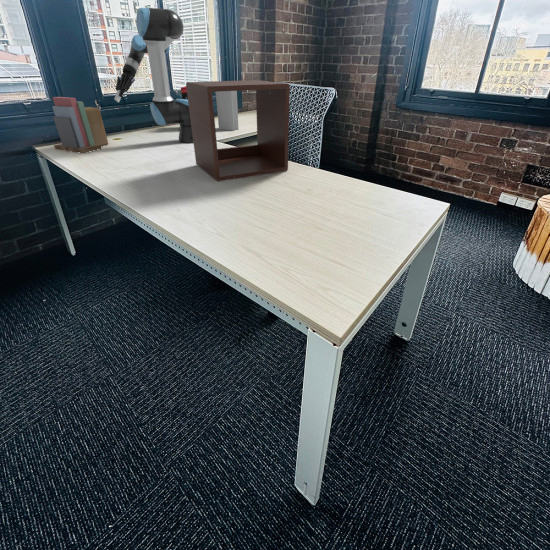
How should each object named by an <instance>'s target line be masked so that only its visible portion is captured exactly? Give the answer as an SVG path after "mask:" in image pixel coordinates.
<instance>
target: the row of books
mask: <svg viewBox="0 0 550 550" xmlns="http://www.w3.org/2000/svg"><path fill="white" fill-rule="evenodd" d="M52 101H53V103H54V105H53V106H52V111H53V114H54V116H53V117H52V118H53V120H54V123H55V127H56V130H57V133H58V136H59V139H60V141H61V144H62V145H63V146H66V147H73V148H78V147H79V148H82V147H85V146H91V145H95V143H94V139H93V136H92V132H91V129H90V125H89V122H88V118H87V115H86V111H85V104H84V101H77V99H76V97H69V96H68V97H67V96H66V97H65V96H52Z"/></svg>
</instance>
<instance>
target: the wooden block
mask: <svg viewBox="0 0 550 550" xmlns="http://www.w3.org/2000/svg"><path fill="white" fill-rule="evenodd" d="M84 108H85V111H86V115H87V118H88V122H89V125H90V129H91V132H92V136H93V139H94V143H95V145H101V147H104V146H103V145H105V146H108V145H109V140H108V136H107V133H106V129H105V128H106V127H105V125H104V121H103V118H102V114H101V110H100V108H98V107H94V106H84Z"/></svg>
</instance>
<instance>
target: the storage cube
mask: <svg viewBox="0 0 550 550" xmlns="http://www.w3.org/2000/svg"><path fill="white" fill-rule="evenodd" d="M185 86H186V89H187V96H188V104H189V112H190V120H191V127H192V135H193V143H192V144H193V149H194V150H193V151H194V156H195V164H196V166H198V167H199V168H200V169H202V170H203V172H206V174H208V175H209V176H210V177H211V178H212V179H214V180H215V181H216V182H222V181H228V180H236V179H242V178H243V179H244V178H249V177H250V178H251V177H255V176H260V175H261V176H263V175H268V174H274V173H275V174H276V173H282V172H287V171H288V170H289V139H290V138H289V136H290V131H289V129H290V88H291V86H290V84H289V83H287V82H286V83H285V82H275V81H267V80H260V79H251V80H250V79H249V80H218V81H217V80H215V81H213V80H212V81H187V82H186V83H185ZM219 91H237V92H238V91H255V100H256V102H255V107H256V109H255V110H256V138H257V139H256V141H257V144H251V145H241V146H234V147H233V146H232V147H224V148H218V143H217V142H218V141H217V131H216V130H217V129H216V122H215V121H216V120H215V110H214V98H213V93H214V92H215V93H216V92H219Z"/></svg>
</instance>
